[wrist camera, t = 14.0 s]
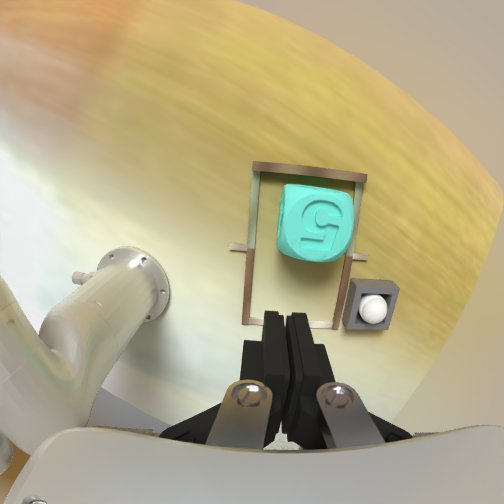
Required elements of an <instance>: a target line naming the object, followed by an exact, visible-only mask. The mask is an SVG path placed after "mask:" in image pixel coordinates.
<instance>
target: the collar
mask: <svg viewBox="0 0 504 504" xmlns="http://www.w3.org/2000/svg"><path fill="white" fill-rule="evenodd" d="M399 289H400V288H399V287H398V286H397V285H396V284H395V283H394V282H393V281H390V280H373V279H356V278H351V280H350V285H349V290H348V295H347V300H346V305H345V309H344V314H343V318H342V320H343V322H344V325H345V327H346V329H349V330H388V328H389V325H390V321H391V318H392V315H393V311H394V308H395V304H396V300H397V296H398V293H399ZM362 293H370V294H383V297H382V298H383V299H384V300H385V301H386V304H387V314H386V317H385V318H384V319H383V320H382V321H381V322H379V323H376V324H371V323H368V322H366V321H364V320H363V318H362V317H361V315H360V314H357V312H358V307H359V303H360V299H361V294H362Z"/></svg>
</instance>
